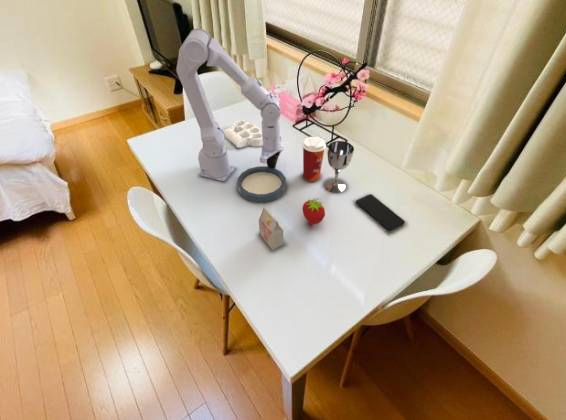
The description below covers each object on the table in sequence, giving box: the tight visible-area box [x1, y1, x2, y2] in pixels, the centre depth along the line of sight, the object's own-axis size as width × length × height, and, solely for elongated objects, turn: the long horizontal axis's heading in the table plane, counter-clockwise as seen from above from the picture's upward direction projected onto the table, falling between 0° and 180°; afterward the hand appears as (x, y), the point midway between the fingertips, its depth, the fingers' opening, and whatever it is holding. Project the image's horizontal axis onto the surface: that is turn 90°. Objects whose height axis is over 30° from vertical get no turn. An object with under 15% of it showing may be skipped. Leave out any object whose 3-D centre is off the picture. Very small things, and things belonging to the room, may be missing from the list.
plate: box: [236, 165, 287, 204], centre depth 102 cm, size 16×16×3 cm
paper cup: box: [301, 136, 327, 182], centre depth 102 cm, size 8×8×14 cm
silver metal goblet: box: [324, 140, 355, 194], centre depth 98 cm, size 8×8×15 cm
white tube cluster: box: [223, 119, 263, 149], centre depth 124 cm, size 3×18×15 cm
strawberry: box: [301, 198, 326, 226], centre depth 87 cm, size 6×8×10 cm
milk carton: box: [258, 206, 284, 251], centre depth 82 cm, size 4×7×10 cm, turn 33°
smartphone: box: [355, 194, 406, 232], centre depth 94 cm, size 7×1×15 cm
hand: (271, 169), depth 108 cm, fingers closed
